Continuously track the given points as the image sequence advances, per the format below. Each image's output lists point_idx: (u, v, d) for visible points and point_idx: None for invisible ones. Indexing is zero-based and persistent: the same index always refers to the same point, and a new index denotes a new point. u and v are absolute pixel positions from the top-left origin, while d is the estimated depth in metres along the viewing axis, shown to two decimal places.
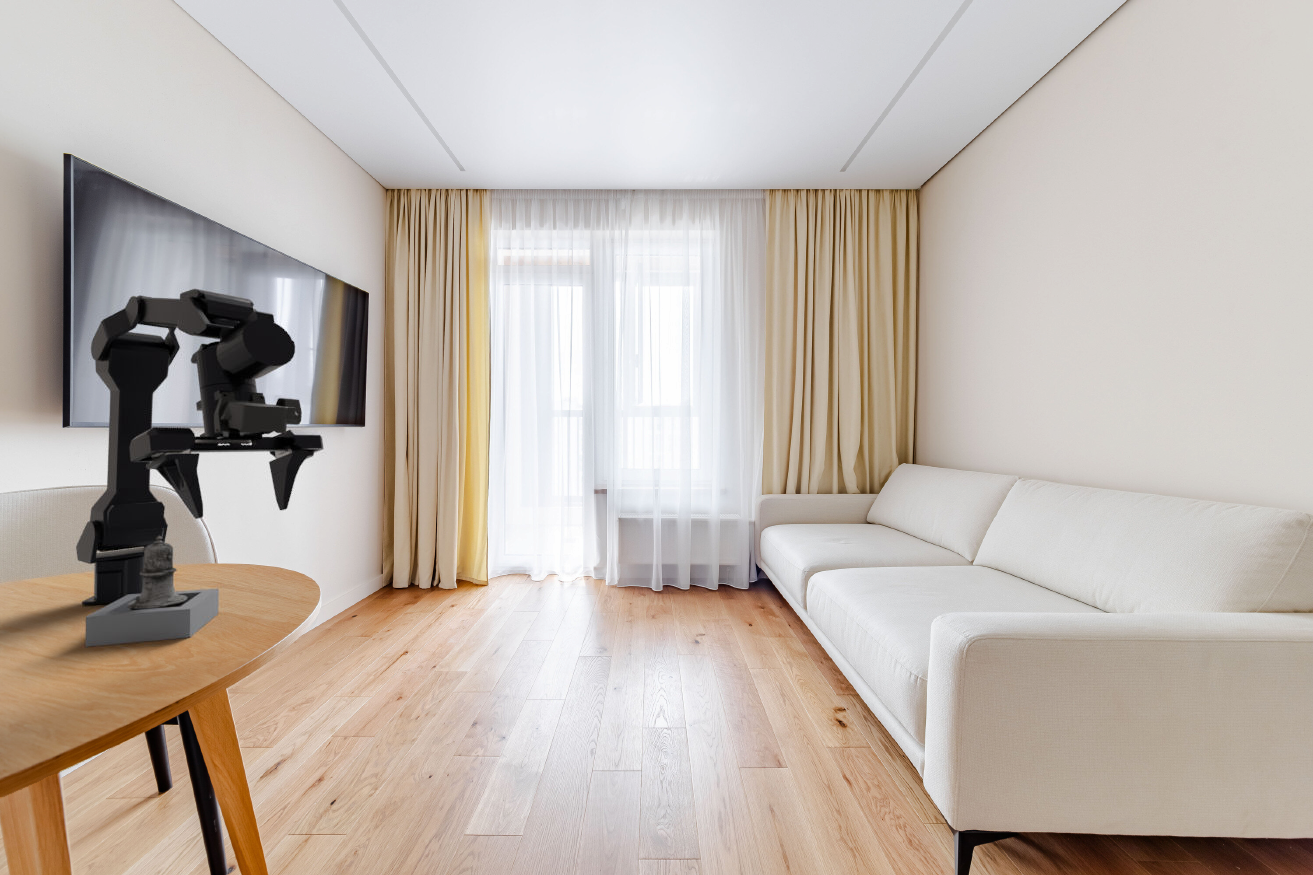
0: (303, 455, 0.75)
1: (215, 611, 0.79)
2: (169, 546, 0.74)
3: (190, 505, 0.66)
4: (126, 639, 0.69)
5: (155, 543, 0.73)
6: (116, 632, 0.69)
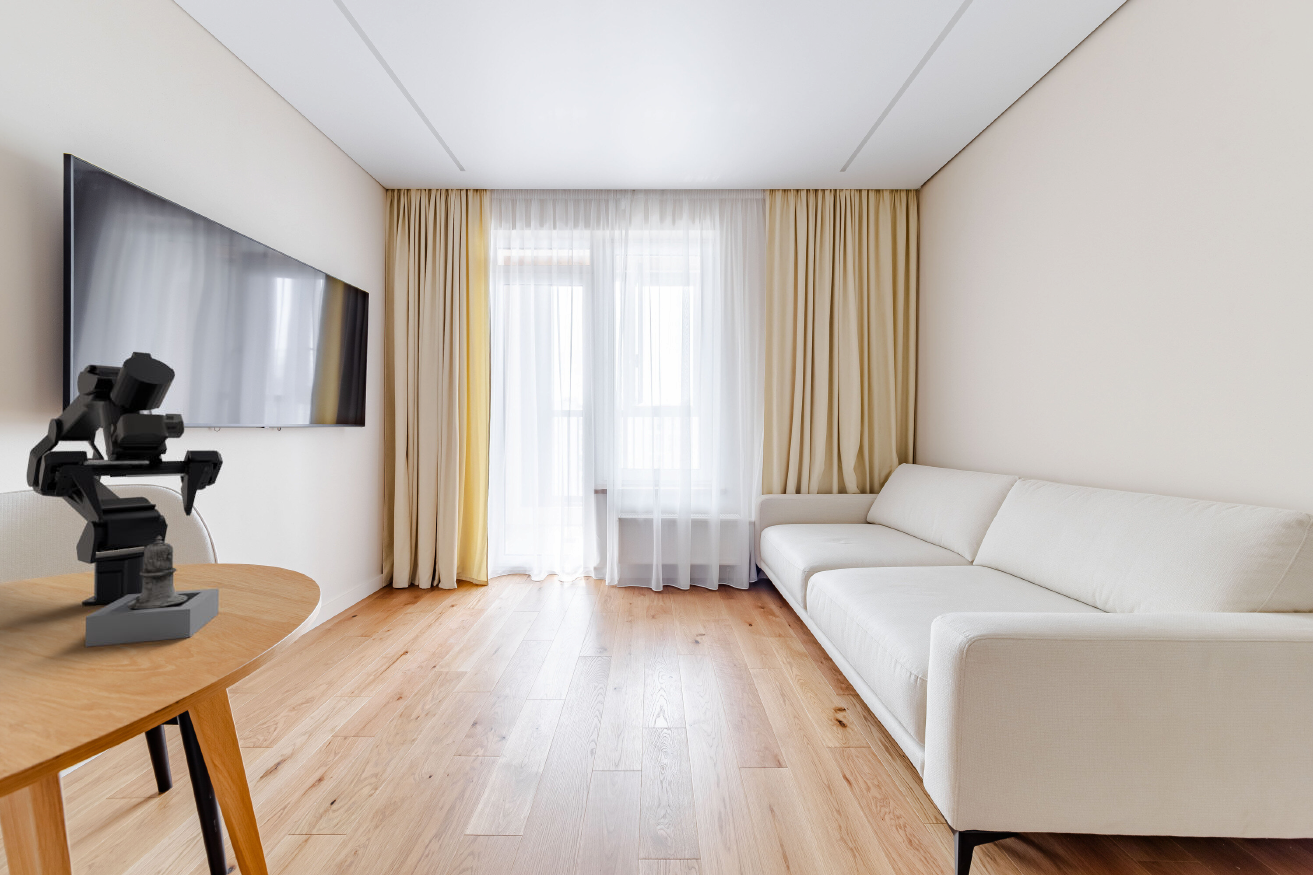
0: (201, 466, 0.85)
1: (215, 611, 0.79)
2: (169, 546, 0.74)
3: (91, 511, 0.75)
4: (126, 639, 0.69)
5: (155, 543, 0.73)
6: (116, 632, 0.69)
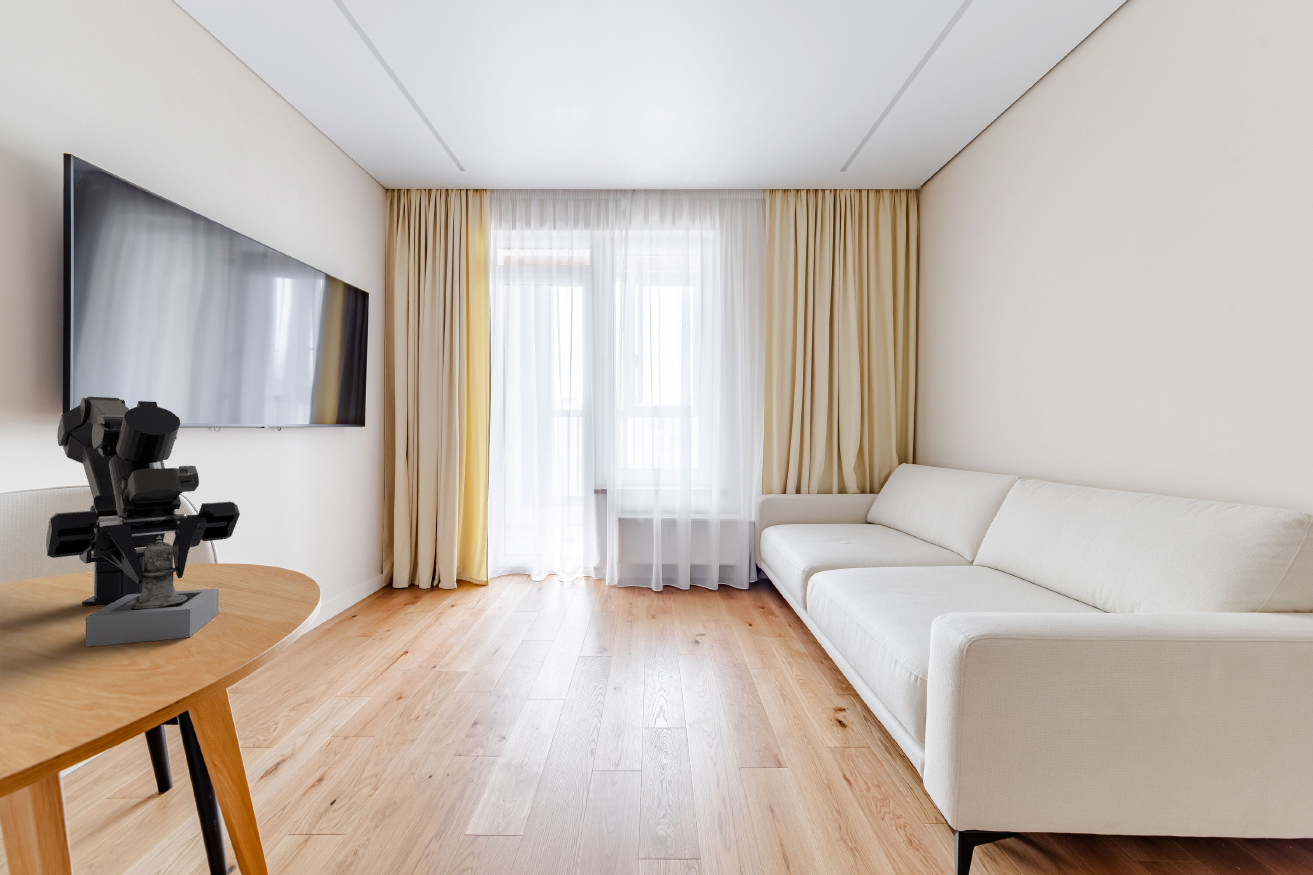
0: (193, 522, 0.78)
1: (215, 611, 0.79)
2: (169, 546, 0.74)
3: (131, 572, 0.72)
4: (126, 639, 0.69)
5: (155, 543, 0.73)
6: (116, 632, 0.69)
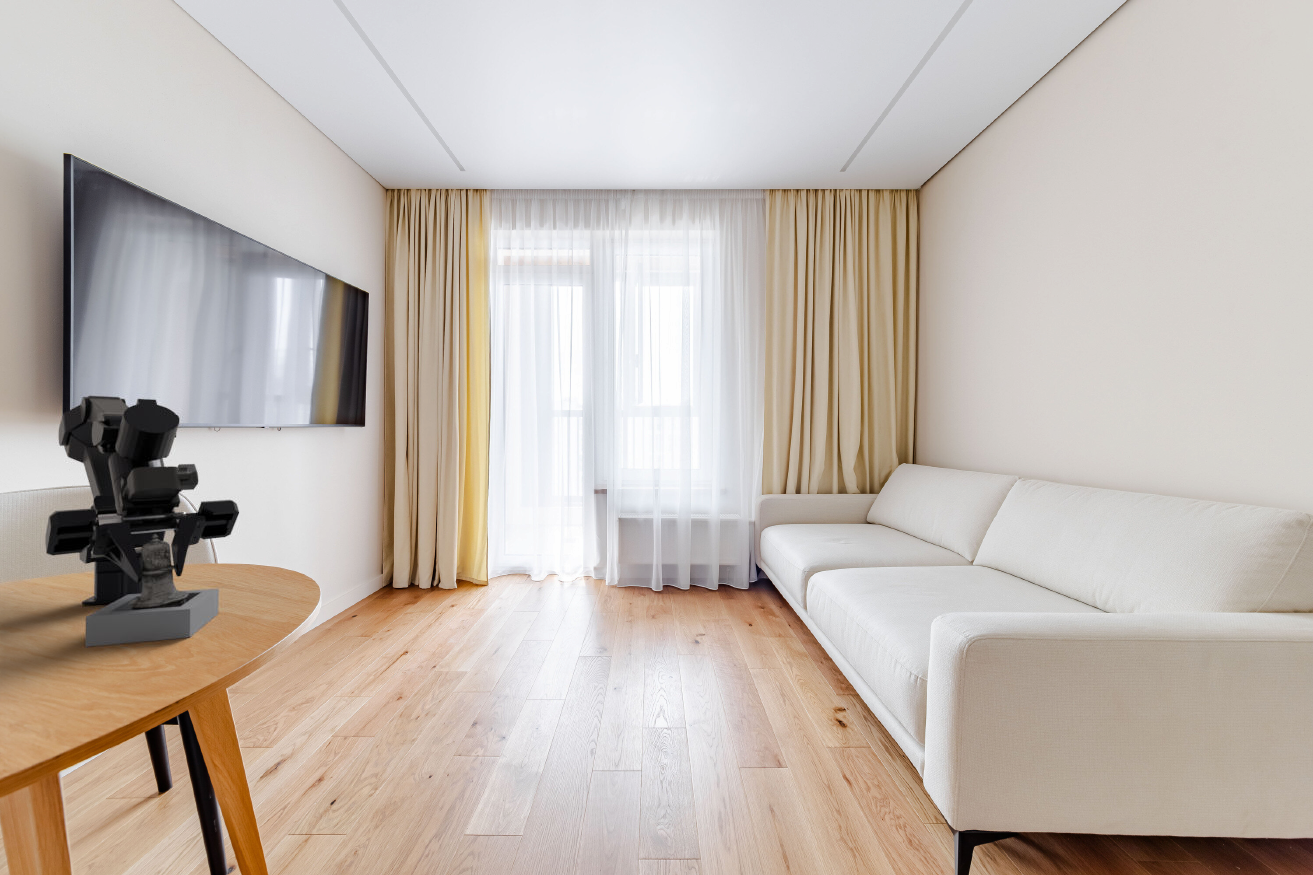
0: (192, 520, 0.78)
1: (215, 611, 0.79)
2: (166, 544, 0.74)
3: (130, 570, 0.72)
4: (126, 639, 0.69)
5: (151, 542, 0.73)
6: (116, 632, 0.69)
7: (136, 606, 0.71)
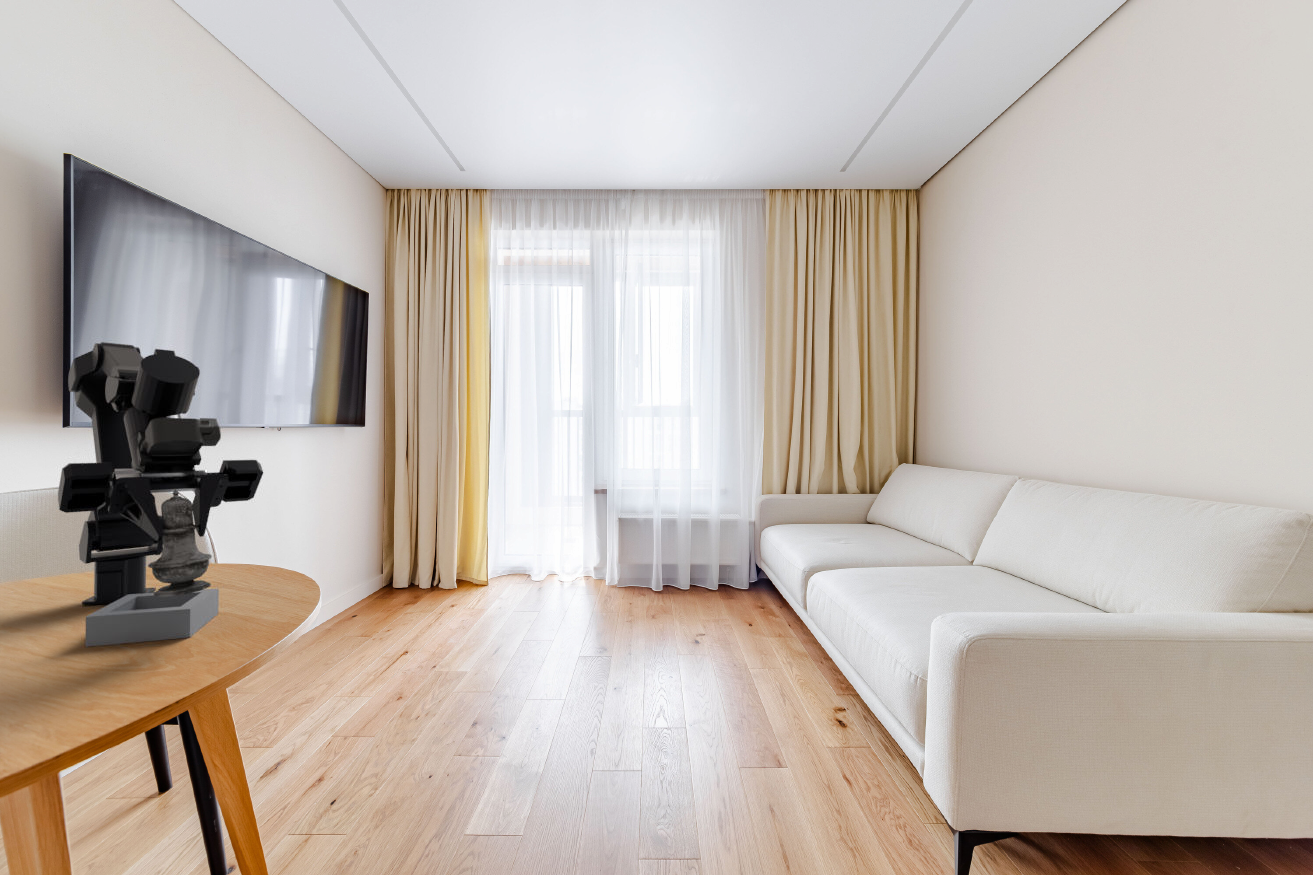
0: (214, 478, 0.72)
1: (215, 611, 0.79)
2: (187, 501, 0.69)
3: (150, 528, 0.66)
4: (126, 639, 0.69)
5: (172, 498, 0.68)
6: (116, 632, 0.69)
7: (156, 566, 0.66)
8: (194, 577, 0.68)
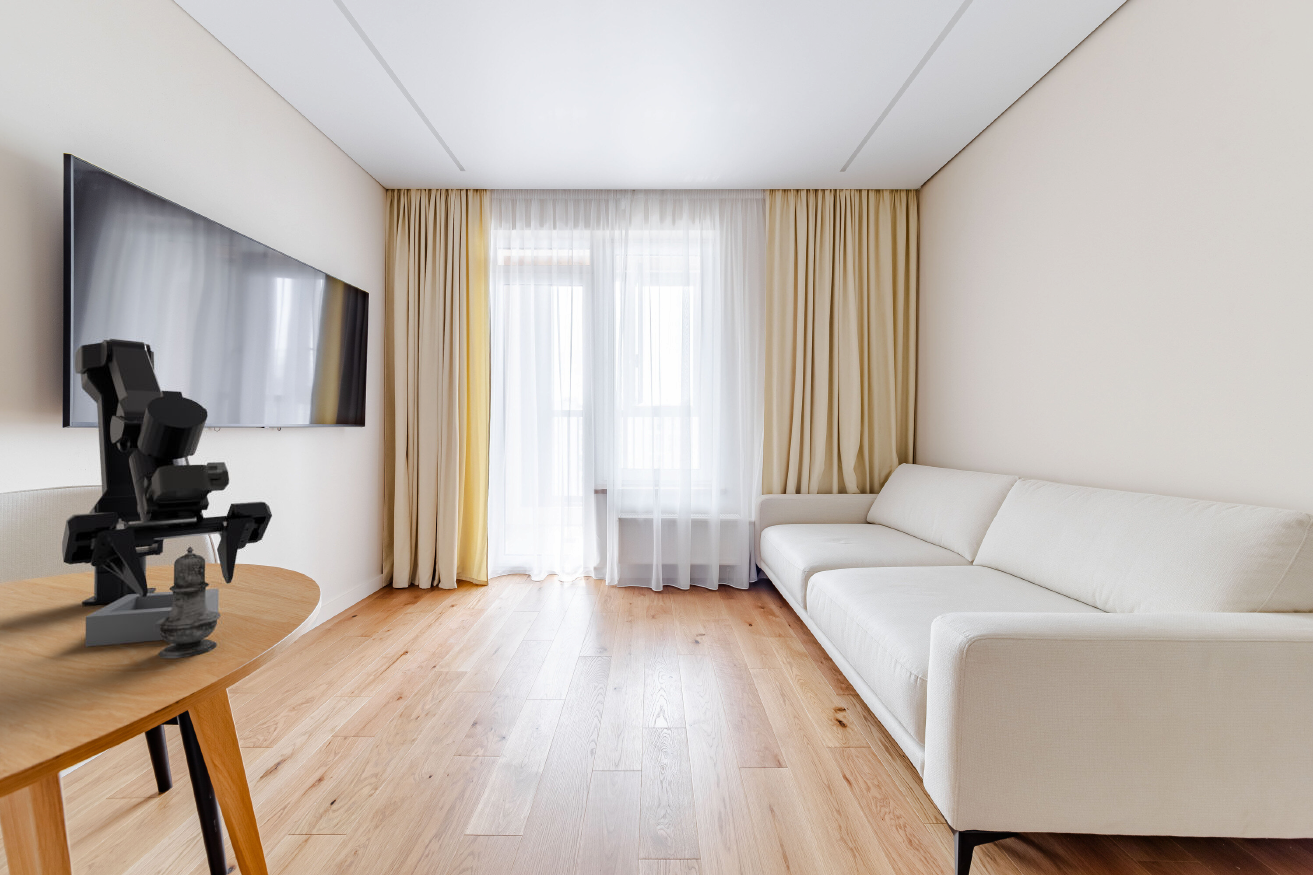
0: (241, 522, 0.72)
1: (215, 611, 0.79)
2: (201, 558, 0.67)
3: (134, 583, 0.63)
4: (126, 639, 0.69)
5: (186, 555, 0.67)
6: (116, 632, 0.69)
7: (164, 627, 0.64)
8: (201, 638, 0.67)
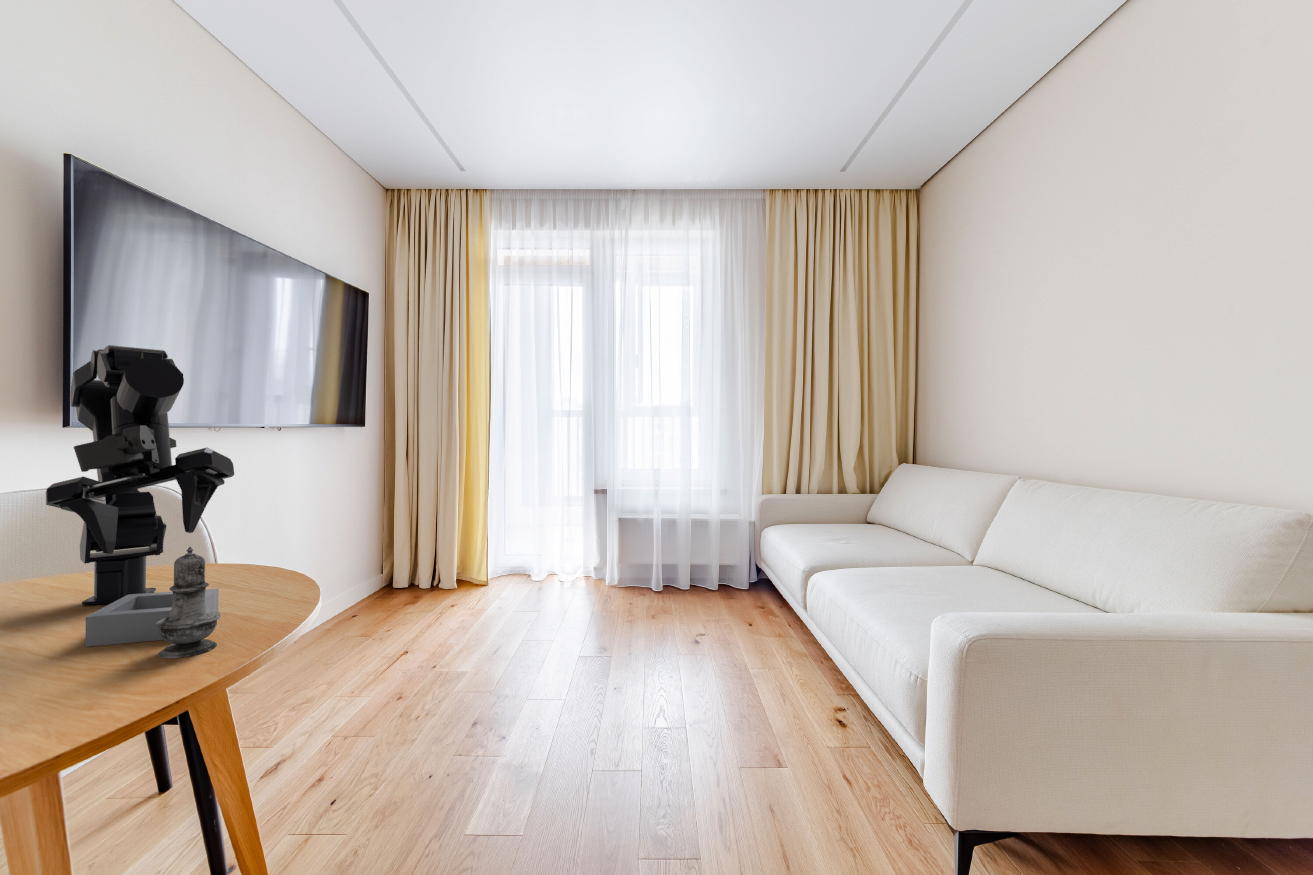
0: (187, 476, 0.74)
1: (215, 611, 0.79)
2: (201, 558, 0.67)
3: None
4: (126, 639, 0.69)
5: (186, 555, 0.67)
6: (116, 632, 0.69)
7: (164, 627, 0.64)
8: (201, 638, 0.67)
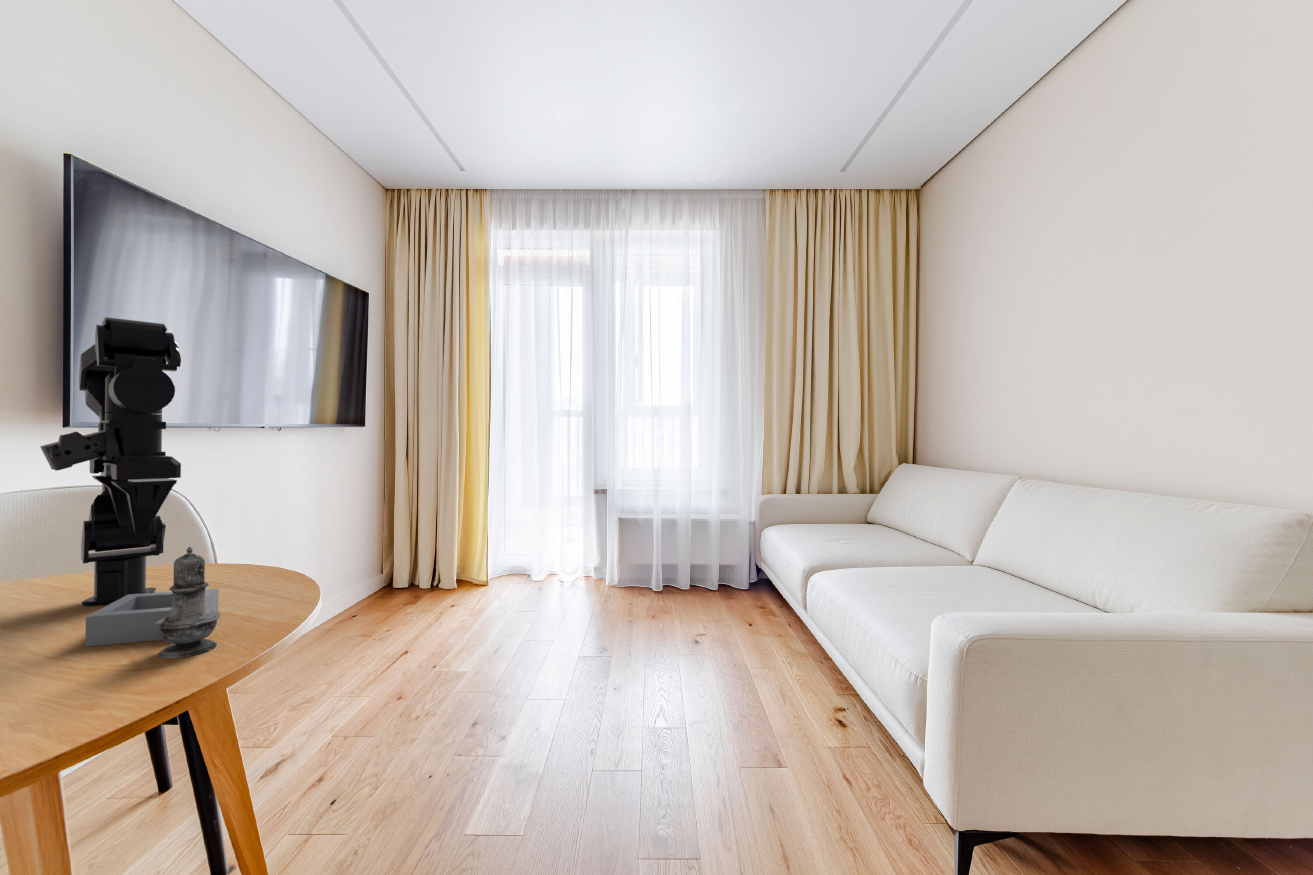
0: (116, 485, 0.72)
1: (215, 611, 0.79)
2: (201, 559, 0.67)
3: None
4: (126, 639, 0.69)
5: (185, 555, 0.67)
6: (116, 632, 0.69)
7: (164, 627, 0.64)
8: (201, 638, 0.67)
